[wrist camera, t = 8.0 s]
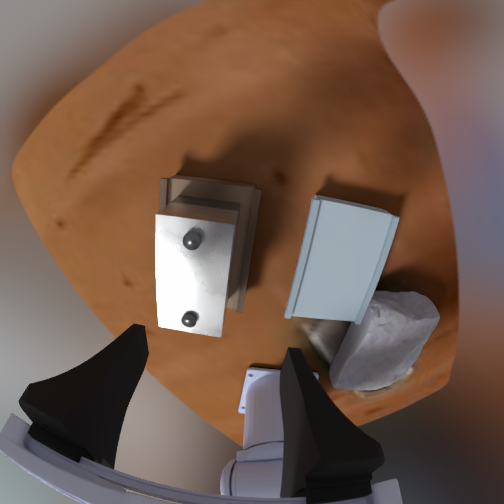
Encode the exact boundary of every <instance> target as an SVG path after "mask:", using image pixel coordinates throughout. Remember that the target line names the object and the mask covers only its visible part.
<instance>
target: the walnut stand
mask: <svg viewBox="0 0 504 504" xmlns="http://www.w3.org/2000/svg"><path fill="white" fill-rule="evenodd" d="M254 187H255V184H248V183H241V182H234V181H226V180H218V179H210V178H201V177H191V176H181V175H174V176H172V177H170V178H161V179H160V197H159V211H160V210H161V209H163V208H164V207H165V206H166V205H167V204H169V203H170V202H171V201H172V200H173V199H175V198H176V197H177V196H178V195H182V196H191V197H199V198H207V199H215V200H222V201H230V202H237V203H241V204H240V212H239V219H238V226H237V234H236V241H235V249H234V256H233V264H232V272H231V280H230V288H229V296H228V303H227V308H233V309H237V311H236V312H241V313H242V312H243V306H244V300H245V293H246V287H247V281H248V274H249V268H250V262H251V255H252V249H253V243H254V237H255V230H256V224H257V218H258V211H259V205H260V199H261V192H262V189H255V188H254Z"/></svg>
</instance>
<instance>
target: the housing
mask: <svg viewBox="0 0 504 504" xmlns="http://www.w3.org/2000/svg"><path fill="white" fill-rule="evenodd" d="M240 204H241V203H237V202H230V201H222V200H215V199H207V198H199V197H191V196H182V195H178V196H177V197H176V198H175V199H173V200H172V201H171V202H170V203H169V204H167V205H166V206H165V207H164V208H163V209H161V210H160V211H159V212H158V213H157V214H156V239H155V246H156V289H157V308H158V322H159V326H160V327H165V328H170V329H175V330H181V331H186V332H191V333H197V334H203V335H209V336H215V337H221V336H222V330H223V325H224V319H225V314H226V308H227V303H228V296H229V288H230V280H231V272H232V264H233V256H234V249H235V241H236V234H237V226H238V219H239V212H240Z"/></svg>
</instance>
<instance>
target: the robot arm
mask: <svg viewBox="0 0 504 504" xmlns="http://www.w3.org/2000/svg"><path fill="white" fill-rule="evenodd" d="M148 355H149V351H148V345H147V338H146V331H145V326H143V325H138V324H133V325H132V326H130V327H129V328H128V329H127V330H126V331H125V332H123V333H122V334H121V335H120V336H119V337H118V338H116V339H115V340H114V341H113V342H111V343H110V344H109V345H108V346H107V347H105V348H104V349H103V350H101V351H100V352H99V353H97V354H96V355H94V356H93V357H92V358H90V359H89V360H87V361H85V362H84V363H82V364H80V365H79V366H77V367H75V368H73V369H71V370H69V371H67V372H65V373H62V374H60V375H58V376H55V377H52V378H49V379H46V380H43V381H39V382H35V383H31V384H29V385H28V387H27V389H26V390H25V391H24V393H23V395H22V396H21V398H20V400H19V404H20V406H21V408H22V410H23V411H24V412H25V413H26V415H27V416H28V417H29V418H30V419H31V421H32V422H33V423H32V425H31V426H30V425H29V424H28V423H26V422H25V421H23V420H22V419H20V418H19V417H17V416H16V415H14V414H13V413H12V414H11V415H10V417H9V419H8V420H7V422H6V424H5V426H4V427H3V429H2V431H1V433H0V451H1V452H2V453H3V454H4V455H6V456H7V457H8V458H9V459H11V460H12V461H13V462H14V463H16V464H17V465H18V466H19V467H21V468H22V469H24V470H25V471H27V472H28V473H30V474H31V475H33V476H34V477H36V478H37V479H39V480H40V481H42V482H43V483H45V484H47V485H48V486H50V487H52V488H53V489H55V490H57V491H59V492H60V493H62V494H64V495H66V496H68V497H70V498H72V499H74V500H75V501H77V502H80V503H82V504H175V503H170V502H166V501H162V500H157V499H154V498H150V497H147V496H143V495H139V494H136V493H130V492H126V490H125V489H124V488H126V489H129V490H133V491H136V492H139V493H143V494H146V495H149V496H153V497H157V498H161V499H165V500H169V501H174V502H178V503H183V504H403V503H402V498H401V494H400V489H399V485H398V481H397V479H392V480H388V481H384V482H379V483H376V484H373V485H371V484H370V480H372V472H374V471H375V470H376V469H378V468H379V467H380V466H381V465H382V464H383V463H384V461H385V457H384V453H383V450H382V447H381V445H380V443H378V442H377V441H376V440H374V439H372V438H371V437H369V436H368V435H367V434H365V433H364V432H363V431H361V430H360V429H359V428H358V427H357V426H355V425H354V424H353V423H352V422H351V421H350V420H349V419H348V418H347V417H346V416H345V415H344V414H343V413H342V412H341V411H340V410H339V409H338V407H337V406H336V405H335V404H334V403H333V401H332V400H331V399H330V398H329V396H328V395H327V393H326V392H325V391H324V389H323V388H322V386H321V385H320V383H319V381H318V378H319V374H318V373H317V372H313V371H312V370H311V368H310V366H309V364H308V362H307V360H306V358H305V356H304V354H303V352H302V350H301V349H300V348H289V347H288V349H287V353H286V356H285V359H284V362H283V365H282V368H281V370H275V369H264V368H254V367H250V368H248V369H247V372H246V377H245V382H244V386H243V391H242V395H241V400H240V405H239V409H238V412H239V413H244V414H245V422H244V439H243V451H237V458H236V460H231V461H229V462H228V464H227V465H226V466H225V468H224V469H223V472H222V475H221V482H220V489H221V495H218V494H210V493H203V492H197V491H191V490H186V489H181V488H176V487H171V486H167V485H163V484H159V483H155V482H151V481H147V480H144V479H141V478H137V477H134V476H131V475H128V474H125V473H122V472H119V471H116V470H114V464H115V458H116V452H117V446H118V441H119V436H120V432H121V428H122V424H123V421H124V417H125V414H126V410H127V407H128V405H129V402H130V400H131V398H132V395H133V393H134V391H135V389H136V386H137V384H138V382H139V380H140V378H141V375H142V373H143V371H144V368H145V365H146V362H147V358H148ZM117 485H118V486H117ZM120 486H121V487H120ZM122 487H123V488H122Z"/></svg>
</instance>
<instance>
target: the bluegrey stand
mask: <svg viewBox="0 0 504 504" xmlns="http://www.w3.org/2000/svg"><path fill="white" fill-rule="evenodd" d="M398 222H399V217H398V216H394V215H392V214H390V213H389V212H387V211H386V210H385V209H381V208H377V207H372V206H368V205H364V204H359V203H354V202H350V201H345V200H340V199H335V198H330V197H325V196H320V195H315V196H314V198H312V200H311V205H310V210H309V214H308V219H307V224H306V228H305V233H304V237H303V241H302V246H301V250H300V254H299V258H298V263H297V267H296V271H295V275H294V279H293V283H292V287H291V291H290V295H289V299H288V303H287V306H286V310H285V314H284V318H291V316H298V317H308V318H318V319H330V320H342V321H354V322H355V324H361V322H362V320H363V317H364V315H365V313H366V310H367V308H368V306H369V303H370V301H371V298H372V296H373V294H374V291H375V289H376V286H377V283H378V281H379V278H380V276H381V273H382V270H383V267H384V265H385V262H386V259H387V256H388V253H389V250H390V247H391V244H392V241H393V238H394V235H395V232H396V229H397V225H398Z"/></svg>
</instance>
